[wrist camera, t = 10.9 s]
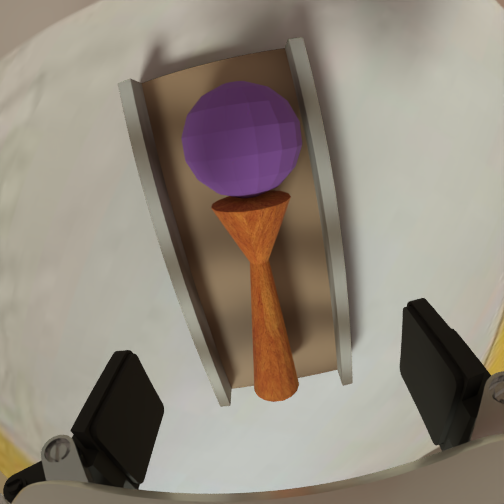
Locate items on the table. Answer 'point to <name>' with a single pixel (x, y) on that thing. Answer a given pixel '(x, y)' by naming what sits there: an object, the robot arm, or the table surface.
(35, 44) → the table surface
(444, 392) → the robot arm
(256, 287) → the kendama
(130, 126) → the rail cradle
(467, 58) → the table surface
